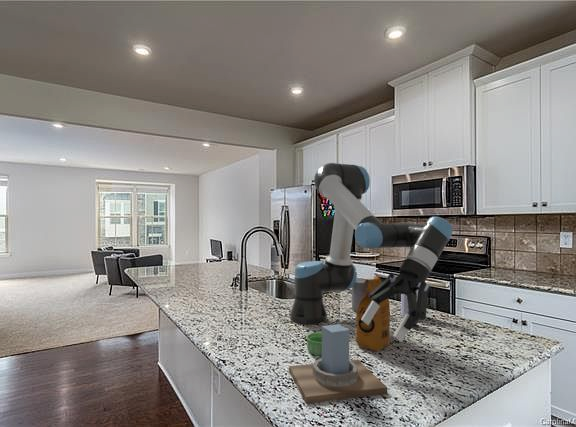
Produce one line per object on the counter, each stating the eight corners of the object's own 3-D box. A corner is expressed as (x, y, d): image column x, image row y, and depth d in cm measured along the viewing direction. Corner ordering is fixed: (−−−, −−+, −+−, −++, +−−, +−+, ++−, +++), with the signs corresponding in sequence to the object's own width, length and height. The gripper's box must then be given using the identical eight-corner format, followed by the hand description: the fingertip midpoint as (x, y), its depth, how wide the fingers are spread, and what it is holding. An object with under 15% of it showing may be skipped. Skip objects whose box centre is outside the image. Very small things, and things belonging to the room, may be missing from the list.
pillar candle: (372, 308, 156) (372, 276, 156) (374, 313, 146) (373, 279, 146) (351, 307, 157) (351, 275, 158) (351, 313, 148) (351, 279, 148)
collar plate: (289, 371, 89) (289, 356, 89) (357, 365, 94) (358, 350, 94) (305, 403, 74) (306, 385, 74) (387, 393, 78) (387, 376, 78)
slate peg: (321, 373, 85) (321, 326, 86) (338, 370, 87) (338, 324, 88) (331, 382, 81) (331, 332, 81) (349, 378, 83) (349, 329, 83)
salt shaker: (421, 329, 126) (421, 297, 126) (405, 328, 127) (405, 296, 127) (418, 324, 132) (418, 294, 132) (403, 323, 133) (403, 293, 133)
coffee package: (350, 346, 108) (351, 278, 109) (366, 335, 118) (366, 273, 119) (380, 353, 102) (380, 281, 103) (394, 342, 112) (394, 276, 113)
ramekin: (336, 347, 107) (336, 333, 108) (333, 358, 99) (333, 343, 99) (308, 344, 109) (308, 331, 110) (303, 355, 101) (303, 340, 101)
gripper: (463, 281, 84) (423, 355, 79) (395, 266, 107) (361, 323, 102) (446, 264, 82) (404, 339, 77) (380, 252, 105) (345, 310, 100)
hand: (379, 330), depth 90 cm, fingers open, 13 cm apart
